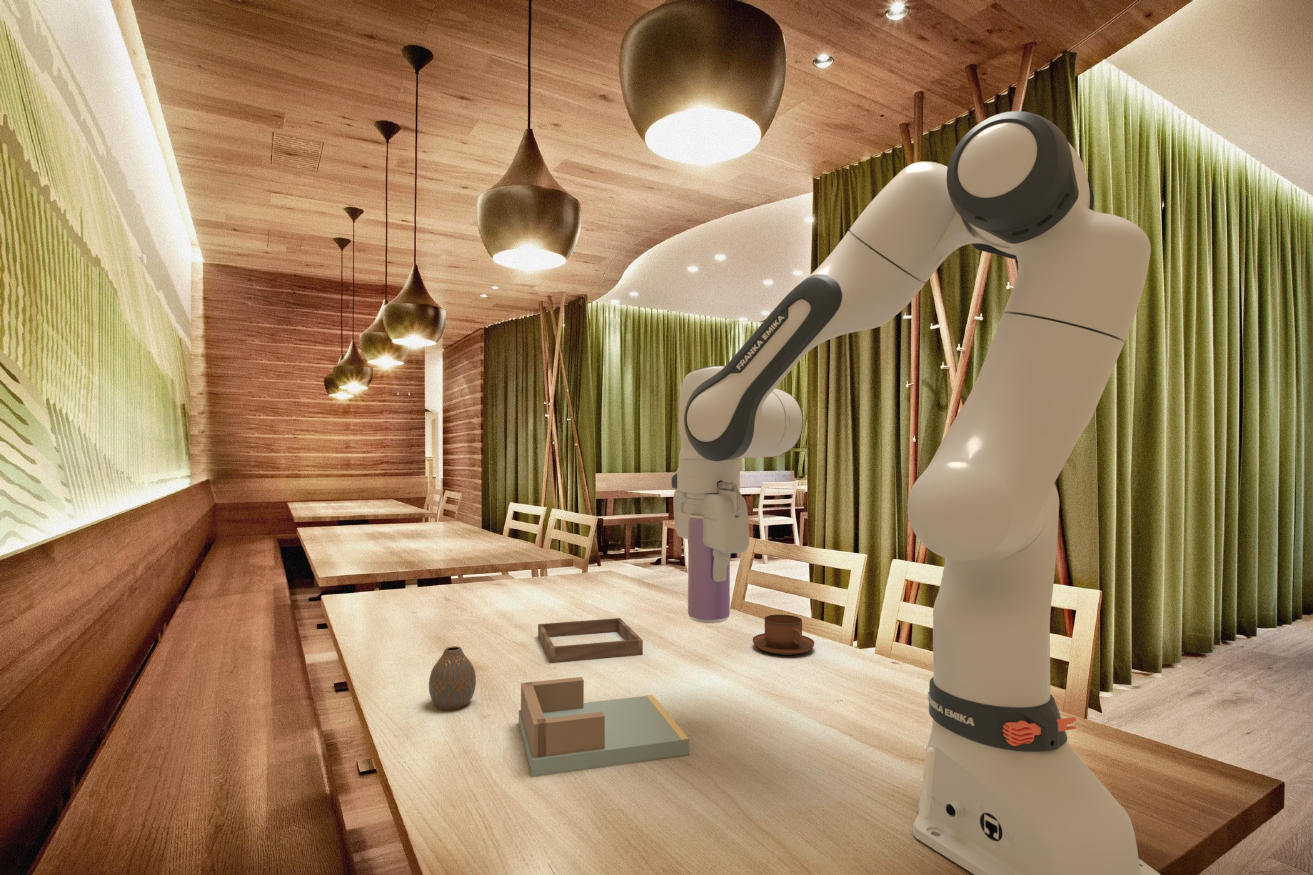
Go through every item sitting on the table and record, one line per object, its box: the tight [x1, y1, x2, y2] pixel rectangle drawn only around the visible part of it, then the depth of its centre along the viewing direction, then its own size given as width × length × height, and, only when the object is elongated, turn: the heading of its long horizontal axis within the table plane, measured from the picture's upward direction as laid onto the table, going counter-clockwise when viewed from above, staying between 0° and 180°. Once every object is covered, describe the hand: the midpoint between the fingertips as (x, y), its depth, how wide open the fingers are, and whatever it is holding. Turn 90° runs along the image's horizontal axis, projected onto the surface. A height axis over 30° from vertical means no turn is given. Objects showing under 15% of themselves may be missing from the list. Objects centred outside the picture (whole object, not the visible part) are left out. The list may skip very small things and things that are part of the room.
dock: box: [518, 676, 690, 778], centre depth 89 cm, size 16×20×6 cm
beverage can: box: [687, 513, 731, 624], centre depth 95 cm, size 6×6×15 cm
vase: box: [428, 645, 477, 711], centre depth 101 cm, size 7×7×9 cm
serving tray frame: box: [537, 617, 644, 664], centre depth 131 cm, size 18×18×3 cm
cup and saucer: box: [752, 614, 815, 656], centre depth 130 cm, size 12×12×6 cm
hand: (709, 576), depth 95 cm, fingers closed on beverage can, 5 cm apart
